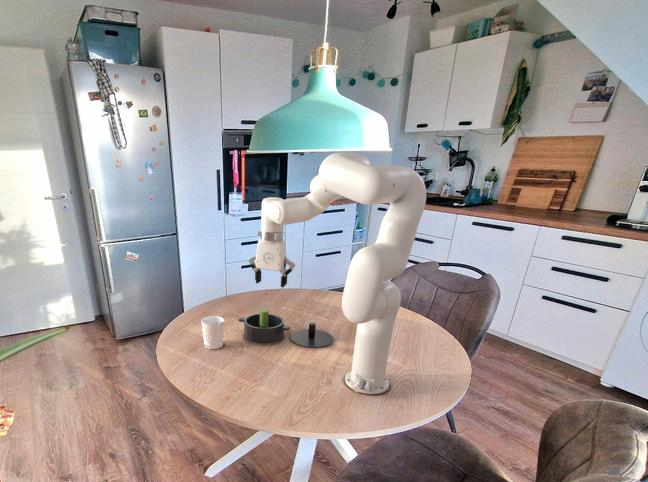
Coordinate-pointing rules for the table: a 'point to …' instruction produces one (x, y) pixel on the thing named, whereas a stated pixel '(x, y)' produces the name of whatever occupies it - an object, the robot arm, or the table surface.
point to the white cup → (213, 331)
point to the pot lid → (311, 337)
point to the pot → (263, 329)
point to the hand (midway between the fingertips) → (270, 284)
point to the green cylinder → (264, 318)
